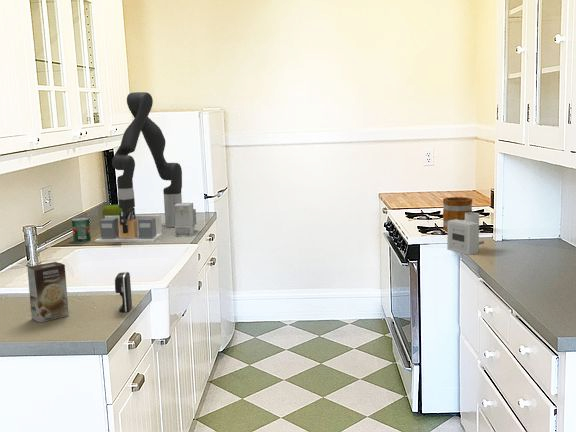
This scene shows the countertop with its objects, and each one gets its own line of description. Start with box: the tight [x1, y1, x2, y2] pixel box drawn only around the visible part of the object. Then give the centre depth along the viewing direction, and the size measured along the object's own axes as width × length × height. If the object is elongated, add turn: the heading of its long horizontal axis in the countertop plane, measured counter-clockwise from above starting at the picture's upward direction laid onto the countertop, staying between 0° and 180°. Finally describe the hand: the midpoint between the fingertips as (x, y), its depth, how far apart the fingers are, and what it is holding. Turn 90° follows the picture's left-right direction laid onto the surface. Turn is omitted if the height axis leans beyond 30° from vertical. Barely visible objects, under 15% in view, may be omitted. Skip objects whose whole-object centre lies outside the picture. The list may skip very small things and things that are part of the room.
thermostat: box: [446, 212, 485, 256], centre depth 262 cm, size 12×14×15 cm
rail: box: [97, 235, 156, 239], centre depth 304 cm, size 4×27×1 cm, turn 84°
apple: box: [102, 203, 122, 219], centre depth 351 cm, size 11×11×11 cm
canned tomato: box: [71, 217, 92, 244], centre depth 303 cm, size 8×8×11 cm
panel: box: [94, 214, 163, 243], centre depth 306 cm, size 15×28×10 cm, turn 84°
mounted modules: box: [99, 218, 156, 238], centre depth 304 cm, size 6×25×8 cm, turn 84°
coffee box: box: [26, 261, 70, 323], centre depth 192 cm, size 9×6×16 cm
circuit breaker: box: [174, 202, 197, 237], centre depth 315 cm, size 8×14×15 cm, turn 174°
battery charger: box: [114, 271, 133, 313], centre depth 198 cm, size 7×4×11 cm, turn 5°
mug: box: [442, 196, 473, 233], centre depth 305 cm, size 20×14×15 cm
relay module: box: [119, 219, 138, 238], centre depth 304 cm, size 5×7×8 cm
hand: (128, 231), depth 304 cm, fingers open, 8 cm apart
